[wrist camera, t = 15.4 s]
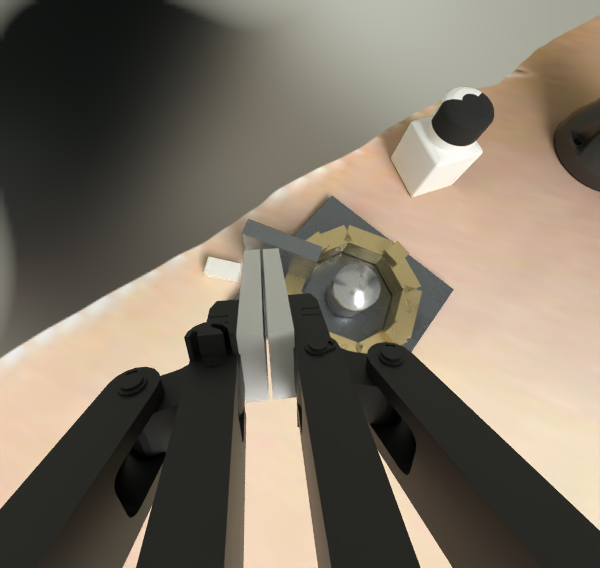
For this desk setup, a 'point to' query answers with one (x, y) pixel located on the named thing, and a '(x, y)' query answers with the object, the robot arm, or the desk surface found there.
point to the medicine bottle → (443, 141)
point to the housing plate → (384, 300)
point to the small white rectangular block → (223, 269)
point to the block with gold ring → (356, 242)
